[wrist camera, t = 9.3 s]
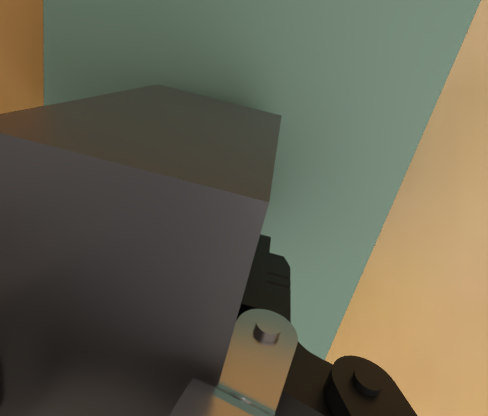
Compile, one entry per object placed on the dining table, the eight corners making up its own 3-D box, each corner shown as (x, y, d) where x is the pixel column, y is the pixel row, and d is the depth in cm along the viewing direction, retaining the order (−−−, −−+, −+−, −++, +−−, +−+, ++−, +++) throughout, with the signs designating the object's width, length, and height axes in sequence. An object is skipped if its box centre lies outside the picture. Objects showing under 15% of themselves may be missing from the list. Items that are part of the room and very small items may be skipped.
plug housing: (158, 84, 11) (-43, 121, 4) (281, 115, 11) (268, 201, 4) (122, 377, 16) (5, 598, 9) (205, 400, 16) (146, 638, 9)
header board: (70, -100, 12) (-79, -207, 7) (463, -5, 12) (586, -48, 7) (61, 303, 20) (-17, 388, 15) (308, 369, 19) (316, 478, 14)
